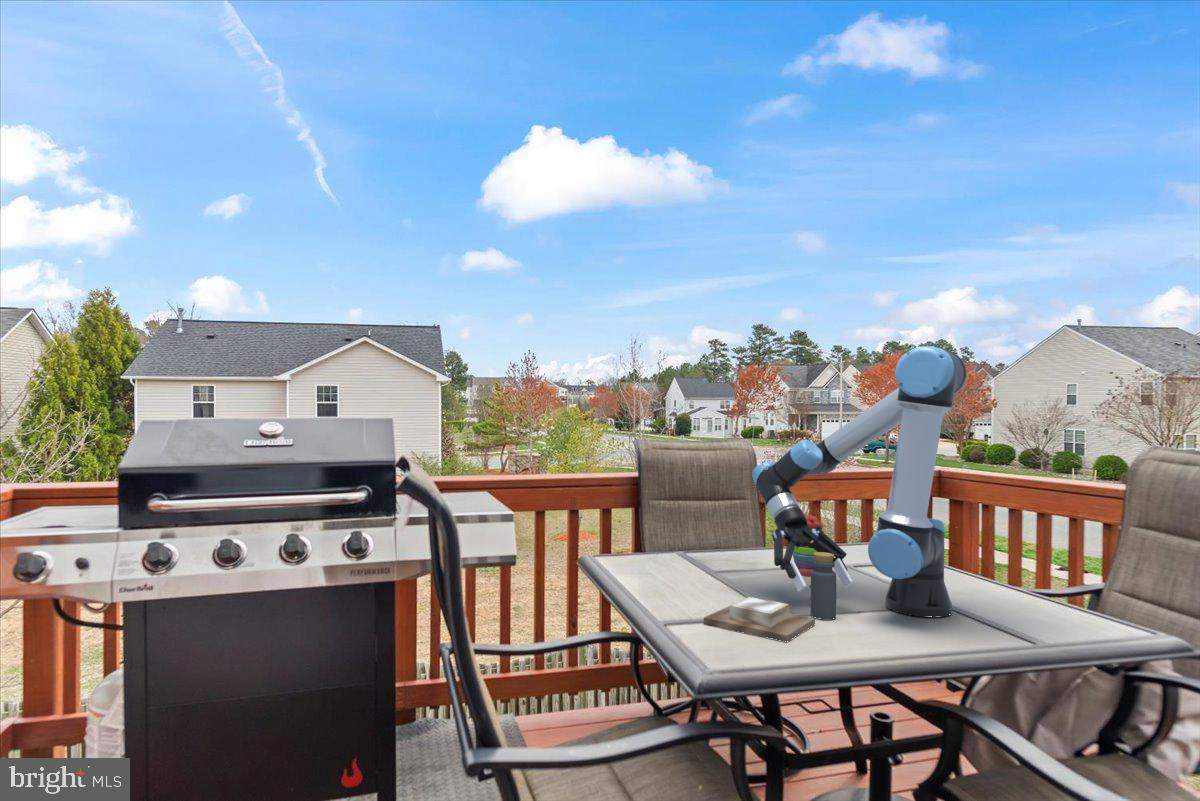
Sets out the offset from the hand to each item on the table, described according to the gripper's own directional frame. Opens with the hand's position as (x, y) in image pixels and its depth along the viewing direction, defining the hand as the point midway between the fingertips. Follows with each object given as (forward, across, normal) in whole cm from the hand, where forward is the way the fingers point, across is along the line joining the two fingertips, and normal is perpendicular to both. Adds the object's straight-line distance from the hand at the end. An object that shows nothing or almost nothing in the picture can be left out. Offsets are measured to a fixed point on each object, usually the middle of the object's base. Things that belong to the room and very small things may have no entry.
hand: (826, 586), depth 166 cm
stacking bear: (-23, -27, -34) cm, 49 cm away
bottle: (+5, 0, -6) cm, 8 cm away
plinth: (+5, +18, -6) cm, 20 cm away
